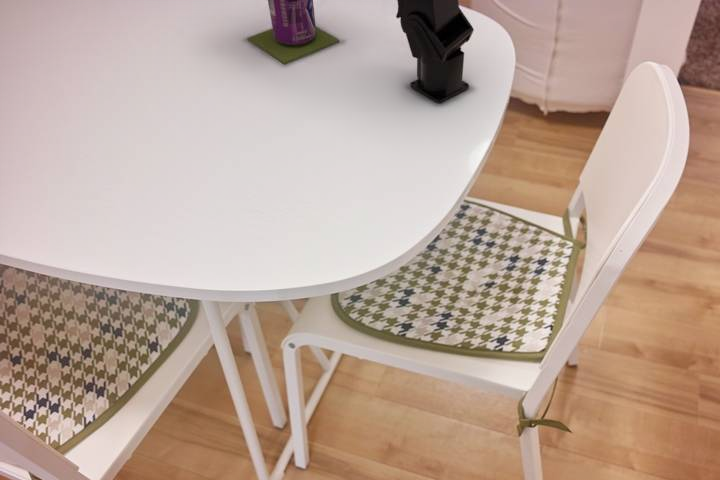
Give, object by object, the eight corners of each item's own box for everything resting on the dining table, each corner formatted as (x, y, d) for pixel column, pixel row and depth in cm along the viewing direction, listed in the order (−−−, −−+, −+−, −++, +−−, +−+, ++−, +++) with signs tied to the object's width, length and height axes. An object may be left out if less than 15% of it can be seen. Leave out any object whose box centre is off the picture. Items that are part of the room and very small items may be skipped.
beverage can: (309, 50, 99) (300, -26, 91) (268, 46, 100) (255, -30, 92) (322, 30, 104) (314, -44, 95) (282, 26, 105) (271, -47, 96)
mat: (339, 42, 102) (339, 39, 102) (284, 64, 97) (284, 62, 97) (301, 20, 108) (301, 17, 107) (247, 40, 103) (247, 37, 102)
